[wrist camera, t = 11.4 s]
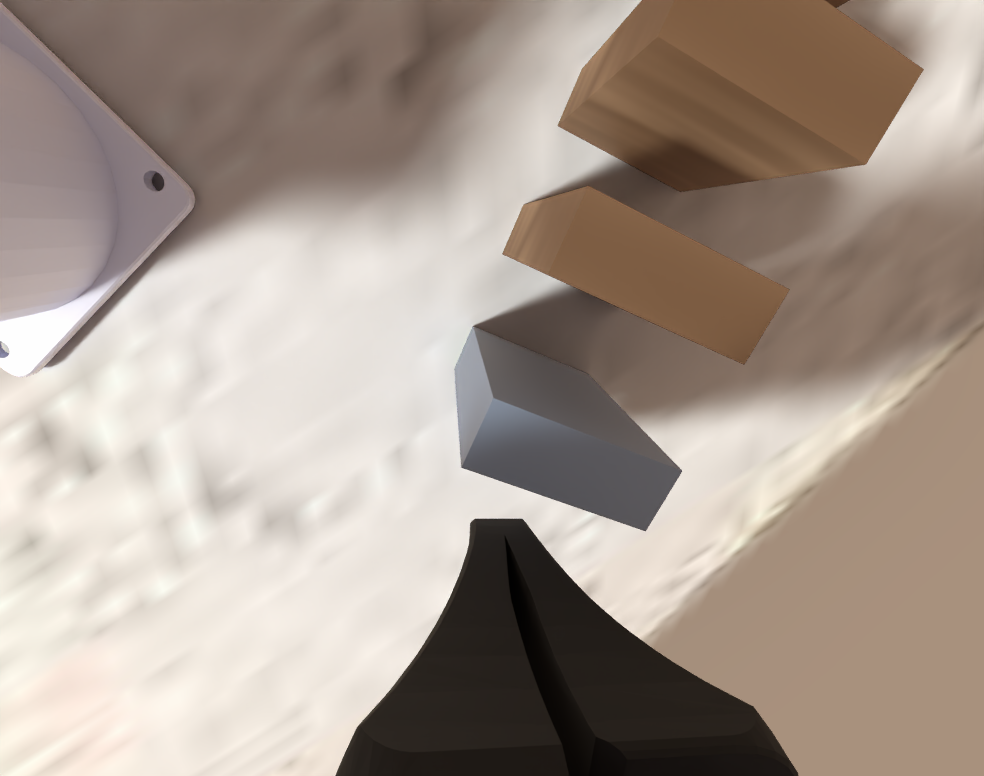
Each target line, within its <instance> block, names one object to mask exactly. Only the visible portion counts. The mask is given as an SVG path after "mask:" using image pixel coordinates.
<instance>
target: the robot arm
mask: <svg viewBox="0 0 984 776" xmlns="http://www.w3.org/2000/svg"><path fill="white" fill-rule="evenodd" d="M157 172H158V173H159V174H161V176H162V177H163V179H164V187H163V189H162V190H160V191H158V190H156V189H155V187H154V186H153V184H152V177H153V175H154V174H156V173H157ZM194 205H195V196H194V193H193V190H192V189H191V188H190V186H189V185H188V184H187V183H186V182H185V181H184V180H183V179H182V178H181V177H180V176H179V175H178V174H177V173H176V172H175V171H174V170H173V169H172V168H171V167H170V166H169V165H168V164H167V163H165V162H164V161H163V160H162V159H161V158H160V157H159V156H158V155H157V154H156V153H155V152H154V151H153V150H152V149H151V148H150V147H149V146H148V145H147V144H146V143H145V142H144V141H143V140H142V139H141V138H140V137H139V136H138V135H137V134H136V133H135V132H134V131H133V130H132V129H131V128H130V127H128V126H127V125H126V124H125V123H124V122H123V121H122V120H121V119H120V118H119V117H118V116H117V115H116V114H115V113H114V112H113V111H112V110H111V109H110V108H109V107H108V106H107V105H106V104H105V103H104V102H103V101H102V100H101V99H100V98H99V97H98V96H97V95H96V94H95V93H94V92H92V91H91V90H90V89H89V88H88V87H87V86H86V85H85V84H84V83H83V82H82V81H81V80H80V79H79V78H78V77H77V76H76V75H75V74H74V73H73V72H72V71H71V70H70V69H69V68H68V67H67V66H66V65H65V64H64V63H63V62H62V61H61V60H60V59H59V58H58V57H56V56H55V55H54V54H53V53H52V52H51V51H50V50H49V49H48V48H47V47H46V46H45V45H44V44H43V43H42V42H41V41H40V40H39V39H38V38H37V37H36V36H35V35H34V34H33V33H32V32H31V31H30V30H29V29H28V28H27V27H26V26H25V25H24V24H23V23H22V22H21V21H19V20H18V19H17V18H16V17H15V16H14V15H13V14H12V13H11V12H10V11H9V10H8V9H7V8H6V7H5V6H4V5H3V4H2V3H1V2H0V367H1V368H2V369H4V370H5V371H6V372H8V373H10V374H12V375H14V376H18V377H25V376H30V375H32V374H35V373H37V372H39V371H40V370H42V368H43V367H44V366H45V365H46V364H47V363H48V362H49V361H50V360H51V359H52V358H53V357H54V356H55V355H56V354H57V353H58V352H59V350H60V349H61V348H62V347H63V346H64V345H65V344H66V343H67V342H68V341H69V340H70V339H71V338H72V337H73V336H74V335H75V334H76V332H77V331H78V330H79V329H80V328H81V327H82V326H83V325H84V324H85V323H86V322H87V321H88V320H89V319H90V318H91V317H92V316H93V314H94V313H95V312H96V311H97V310H98V309H99V308H100V307H101V306H102V305H103V304H104V303H105V302H106V301H107V300H108V299H109V298H110V297H111V295H112V294H113V293H114V292H115V291H116V290H117V289H118V288H119V287H120V286H121V285H122V284H123V283H124V282H125V281H126V280H127V279H128V277H129V276H130V275H131V274H132V273H133V272H134V271H135V270H136V269H137V268H138V267H139V266H140V265H141V264H142V263H143V262H144V261H145V259H146V258H147V257H148V256H149V255H150V254H151V253H152V252H153V251H154V250H155V249H156V248H157V247H158V246H159V245H160V244H161V243H162V242H163V240H164V239H165V238H166V237H167V236H168V235H169V234H170V233H171V232H172V231H173V230H174V229H175V228H176V227H177V226H178V225H179V224H180V222H181V221H182V220H183V219H184V218H185V217H186V216H187V215H188V214H189V213H190V212H191V211H192V209H193V207H194ZM1 342H3V343H5V344H6V345H7V346H8V347H9V351H10V353H7V352H5V351H4V350H3V348H2V345H1ZM336 776H798V772H797V771H796V769H795V768H794V766H793V765H792V763H791V761H790V760H789V758H788V757H787V755H786V754H785V752H784V750H783V749H782V747H781V746H780V744H779V742H778V741H777V739H776V737H775V736H774V734H773V733H772V731H771V730H770V729H769V727H768V726H767V724H766V723H765V722H764V720H763V719H762V718H761V716H760V715H759V713H758V712H757V711H756V709H755V708H754V707H753V706H751V705H749V704H747V703H745V702H743V701H741V700H740V699H738V698H736V697H734V696H732V695H729V694H728V693H726V692H724V691H722V690H720V689H719V688H717V687H715V686H713V685H711V684H709V683H707V682H705V681H704V680H702V679H700V678H698V677H697V676H695V675H693V674H692V673H690V672H689V671H687V670H685V669H684V668H682V667H680V666H679V665H677V664H675V663H674V662H672V661H671V660H669V659H667V658H666V657H664V656H663V655H662V654H660V653H658V652H657V651H655V650H654V649H653V648H651V647H650V646H649V645H647V644H646V643H644V642H643V641H642V640H640V639H639V638H638V637H636V636H635V635H633V634H632V633H631V632H629V631H628V630H627V629H626V628H624V627H623V626H622V625H621V624H619V623H618V622H617V621H616V620H614V619H613V618H612V617H611V616H610V615H609V614H608V613H606V612H605V611H604V610H603V609H602V608H601V607H599V606H598V605H597V604H596V603H595V602H594V601H593V600H592V599H591V598H590V597H589V596H588V595H587V594H586V593H585V592H584V591H583V590H582V589H581V588H580V587H579V586H578V585H577V584H576V583H575V582H574V581H573V580H572V579H571V578H570V577H569V576H568V575H567V573H566V572H565V571H564V570H563V569H562V568H561V566H560V565H559V564H558V563H557V562H556V561H555V560H554V558H553V557H552V556H551V555H550V553H549V552H548V551H547V550H546V548H545V547H544V546H543V545H542V543H541V542H540V541H539V540H538V538H537V537H536V536H535V534H534V533H533V532H532V530H531V529H530V528H529V526H528V525H527V524H526V522H525V521H524V520H523V519H474V520H473V521H472V522H471V523H470V539H469V546H468V550H467V554H466V557H465V560H464V563H463V566H462V569H461V572H460V575H459V577H458V580H457V582H456V584H455V587H454V589H453V591H452V594H451V596H450V598H449V600H448V602H447V604H446V606H445V608H444V610H443V612H442V614H441V616H440V618H439V620H438V621H437V623H436V625H435V627H434V628H433V630H432V632H431V633H430V635H429V636H428V638H427V640H426V641H425V643H424V645H423V646H422V648H421V649H420V651H419V652H418V654H417V655H416V657H415V658H414V659H413V661H412V662H411V663H410V665H409V666H408V667H407V669H406V670H405V671H404V673H403V674H402V675H401V677H400V678H399V679H398V681H397V682H396V683H395V685H394V686H393V687H392V688H391V690H390V691H389V692H388V693H387V694H386V696H385V697H384V698H383V699H382V700H381V701H380V702H379V703H378V704H377V706H376V707H375V708H374V709H373V710H372V711H371V712H370V713H369V715H368V716H367V717H366V718H365V719H364V720H363V721H362V722H361V723H360V724H359V726H358V727H357V729H356V731H355V733H354V735H353V737H352V739H351V741H350V744H349V746H348V748H347V750H346V752H345V754H344V757H343V759H342V761H341V764H340V766H339V768H338V771H337V773H336Z"/></svg>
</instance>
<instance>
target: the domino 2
mask: <svg viewBox="0 0 984 776" xmlns="http://www.w3.org/2000/svg"><path fill="white" fill-rule="evenodd" d="M502 254H503V255H505V256H508V257H510V258H512V259H514V260H516V261H518V262H521V263H523V264H525V265H527V266H529V267H532V268H534V269H536V270H538V271H540V272H542V273H545V274H547V275H549V276H551V277H553V278H555V279H558V280H560V281H562V282H564V283H566V284H568V285H571V286H573V287H575V288H577V289H579V290H581V291H584V292H586V293H588V294H590V295H592V296H595V297H597V298H599V299H601V300H603V301H605V302H608V303H610V304H612V305H614V306H616V307H618V308H621V309H623V310H625V311H627V312H629V313H632V314H634V315H636V316H638V317H640V318H643V319H645V320H647V321H649V322H651V323H654V324H656V325H658V326H660V327H662V328H665V329H667V330H669V331H671V332H673V333H676V334H678V335H680V336H682V337H684V338H686V339H689V340H691V341H693V342H695V343H697V344H700V345H702V346H704V347H706V348H708V349H711V350H713V351H715V352H717V353H719V354H722V355H724V356H726V357H728V358H730V359H733V360H735V361H737V362H739V363H741V364H745V363H746V361H747V359H748V358H749V356H750V354H751V353H752V351H753V349H754V348H755V346H756V345H757V343H758V341H759V340H760V338H761V336H762V335H763V333H764V331H765V330H766V328H767V326H768V325H769V323H770V321H771V320H772V318H773V316H774V315H775V313H776V311H777V310H778V308H779V307H780V305H781V303H782V302H783V300H784V298H785V297H786V295H787V293H788V292H789V290H790V289H788V288H786V287H784V286H782V285H780V284H778V283H776V282H774V281H772V280H770V279H768V278H766V277H764V276H762V275H761V274H759V273H757V272H755V271H753V270H751V269H749V268H747V267H745V266H743V265H741V264H739V263H737V262H735V261H733V260H731V259H730V258H728V257H726V256H724V255H722V254H720V253H718V252H716V251H714V250H712V249H710V248H708V247H706V246H704V245H702V244H700V243H699V242H697V241H695V240H693V239H691V238H689V237H687V236H685V235H683V234H681V233H679V232H677V231H675V230H673V229H671V228H669V227H668V226H666V225H664V224H662V223H660V222H658V221H656V220H654V219H652V218H650V217H648V216H646V215H644V214H642V213H640V212H638V211H637V210H635V209H633V208H631V207H629V206H627V205H625V204H623V203H621V202H619V201H617V200H615V199H613V198H611V197H609V196H607V195H606V194H604V193H602V192H600V191H598V190H596V189H594V188H592V187H590V186H586V187H583V188H579V189H576V190H572V191H569V192H566V193H562V194H559V195H555V196H552V197H549V198H545V199H542V200H538V201H535V202H531V203H528V204H525V205H523V207H522V209H521V212H520V214H519V216H518V219H517V221H516V223H515V226H514V228H513V230H512V233H511V235H510V237H509V240H508V242H507V244H506V247H505V249H504V251H503V253H502Z"/></svg>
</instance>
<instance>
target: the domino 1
mask: <svg viewBox="0 0 984 776" xmlns="http://www.w3.org/2000/svg"><path fill="white" fill-rule="evenodd" d="M923 70H924V69H922V68H921V67H920V66H918V65H917V64H915V63H914V62H912V61H911V60H909V59H908V58H907V57H905V56H904V55H902V54H901V53H899V52H898V51H897V50H895V49H894V48H892V47H891V46H889V45H888V44H887V43H885V42H884V41H882V40H881V39H879V38H878V37H876V36H875V35H874V34H872V33H871V32H869V31H868V30H866V29H865V28H864V27H862V26H861V25H859V24H858V23H856V22H855V21H854V20H852V19H851V18H849V17H848V16H846V15H845V14H844V13H842V12H841V11H839V10H838V9H836V8H835V7H833V6H832V5H831V4H829V3H828V2H826V1H825V0H642V1H641V2H640V3H639V4H638V6H637V7H636V8H635V9H634V10H633V11H632V12H631V14H630V15H629V16H628V17H627V18H626V19H625V20H624V22H623V23H622V24H621V25H620V26H619V27H618V28H617V30H616V31H615V32H614V33H613V34H612V35H611V36H610V38H609V39H608V40H607V41H606V42H605V43H604V44H603V46H602V47H601V48H600V49H599V50H598V51H597V52H596V54H595V55H594V56H593V57H592V58H591V59H590V60H589V62H588V63H587V64H586V65H585V66H584V67H583V68H582V70H581V73H580V75H579V77H578V80H577V82H576V84H575V87H574V89H573V91H572V93H571V96H570V98H569V100H568V103H567V105H566V107H565V110H564V112H563V114H562V117H561V119H560V121H559V124H558V126H559V127H561V128H563V129H564V130H566V131H568V132H570V133H572V134H574V135H576V136H577V137H579V138H581V139H583V140H585V141H587V142H589V143H590V144H592V145H594V146H596V147H598V148H600V149H602V150H603V151H605V152H607V153H609V154H611V155H613V156H615V157H616V158H618V159H620V160H622V161H624V162H626V163H628V164H629V165H631V166H633V167H635V168H637V169H639V170H641V171H642V172H644V173H646V174H648V175H650V176H652V177H654V178H655V179H657V180H659V181H661V182H663V183H665V184H667V185H668V186H670V187H672V188H674V189H676V190H678V191H680V192H683V191H689V190H696V189H703V188H710V187H717V186H723V185H730V184H737V183H744V182H751V181H757V180H764V179H771V178H778V177H785V176H791V175H798V174H805V173H812V172H818V171H825V170H832V169H839V168H846V167H852V166H859V165H866V163H867V162H868V160H869V158H870V157H871V155H872V154H873V152H874V150H875V149H876V147H877V145H878V144H879V142H880V140H881V139H882V137H883V135H884V134H885V132H886V131H887V129H888V127H889V126H890V124H891V122H892V121H893V119H894V117H895V116H896V114H897V112H898V111H899V109H900V107H901V106H902V104H903V103H904V101H905V99H906V98H907V96H908V94H909V93H910V91H911V89H912V88H913V86H914V84H915V83H916V81H917V80H918V78H919V76H920V75H921V73H922V71H923Z"/></svg>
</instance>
